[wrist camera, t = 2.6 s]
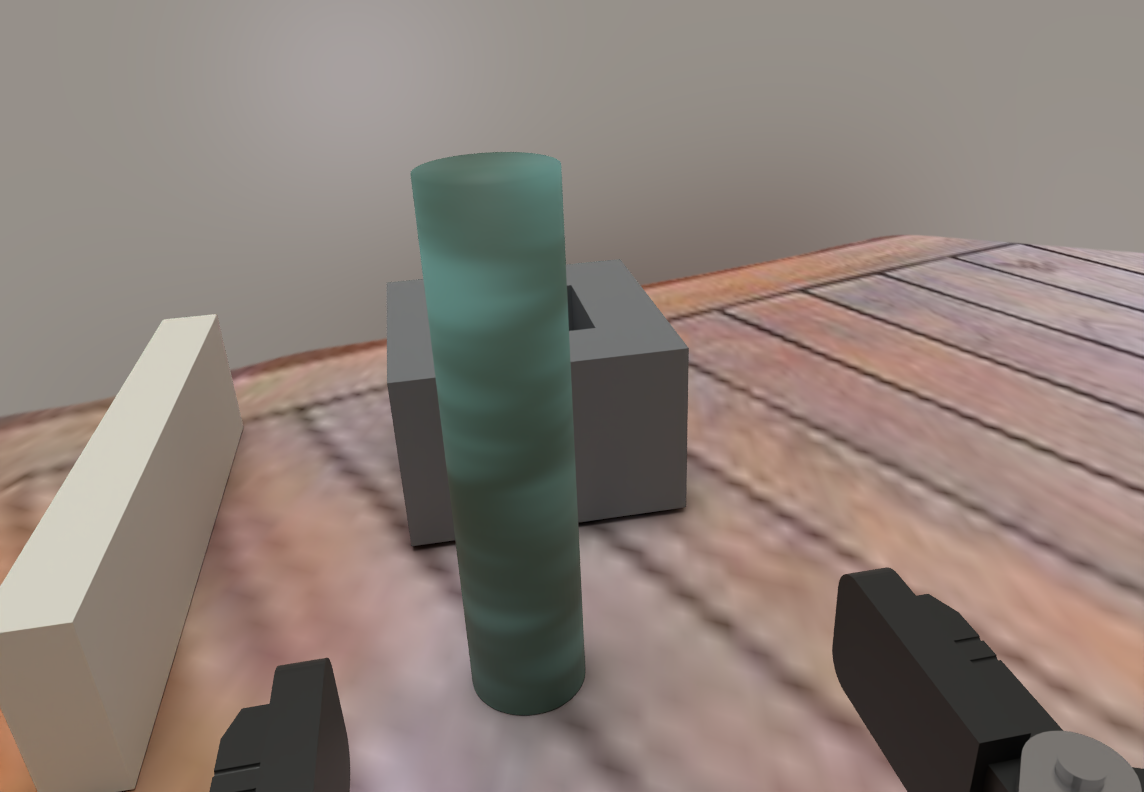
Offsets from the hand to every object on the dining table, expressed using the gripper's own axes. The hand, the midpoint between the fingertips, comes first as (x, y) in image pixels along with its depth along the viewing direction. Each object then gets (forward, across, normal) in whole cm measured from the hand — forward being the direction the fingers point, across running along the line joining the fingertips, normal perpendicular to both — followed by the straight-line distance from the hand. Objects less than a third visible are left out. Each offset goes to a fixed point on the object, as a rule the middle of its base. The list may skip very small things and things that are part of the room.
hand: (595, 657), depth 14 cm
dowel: (+11, 0, +11) cm, 16 cm away
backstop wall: (+20, +13, +10) cm, 26 cm away
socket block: (+24, -2, +10) cm, 27 cm away
